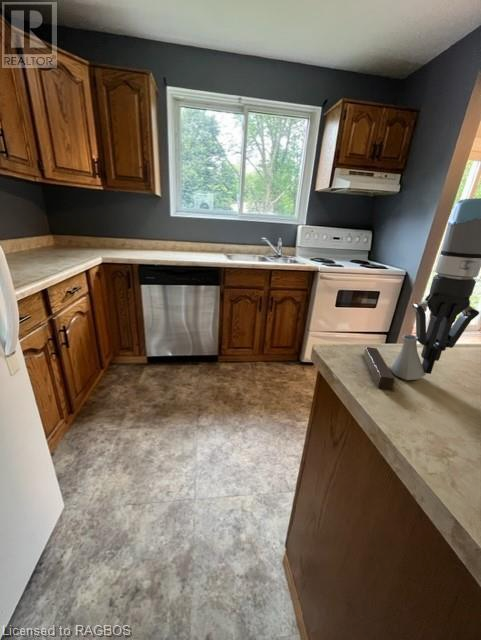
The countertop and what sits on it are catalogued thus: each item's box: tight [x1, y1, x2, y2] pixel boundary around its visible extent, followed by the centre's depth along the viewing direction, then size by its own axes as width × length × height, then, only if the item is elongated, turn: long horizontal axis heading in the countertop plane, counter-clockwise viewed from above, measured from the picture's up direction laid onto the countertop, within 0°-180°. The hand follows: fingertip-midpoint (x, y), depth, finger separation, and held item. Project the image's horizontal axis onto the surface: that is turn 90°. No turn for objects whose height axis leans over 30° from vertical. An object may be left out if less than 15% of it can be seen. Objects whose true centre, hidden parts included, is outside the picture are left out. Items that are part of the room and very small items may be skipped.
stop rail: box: [363, 346, 396, 390], centre depth 70 cm, size 3×16×3 cm, turn 168°
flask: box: [389, 334, 427, 381], centre depth 67 cm, size 7×7×10 cm
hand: (425, 370), depth 67 cm, fingers closed
